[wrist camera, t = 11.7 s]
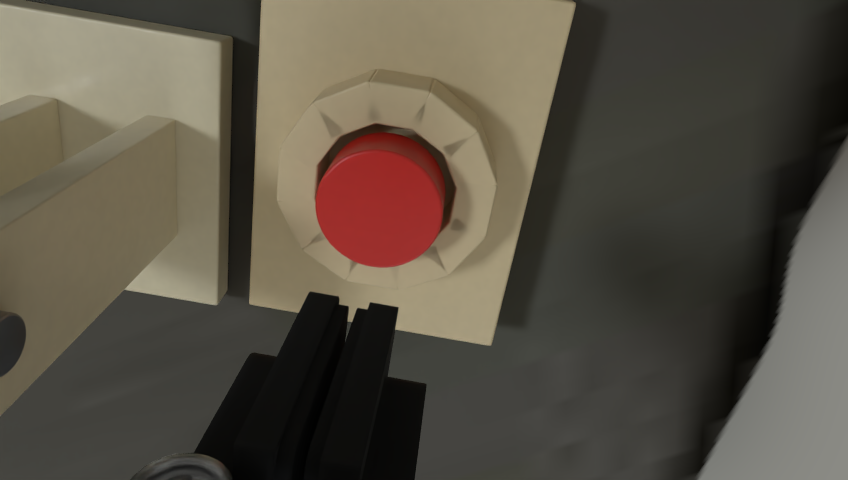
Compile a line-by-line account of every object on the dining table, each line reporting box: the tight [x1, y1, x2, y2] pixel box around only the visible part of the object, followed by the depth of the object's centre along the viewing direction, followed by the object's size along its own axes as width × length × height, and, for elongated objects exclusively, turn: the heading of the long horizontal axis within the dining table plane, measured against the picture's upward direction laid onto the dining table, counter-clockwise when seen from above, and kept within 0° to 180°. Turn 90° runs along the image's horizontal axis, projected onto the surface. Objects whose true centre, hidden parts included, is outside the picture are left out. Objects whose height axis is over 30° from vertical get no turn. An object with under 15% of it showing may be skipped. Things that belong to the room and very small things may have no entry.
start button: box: [315, 132, 445, 268], centre depth 19 cm, size 4×4×2 cm
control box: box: [249, 0, 576, 346], centre depth 21 cm, size 12×9×4 cm
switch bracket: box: [0, 0, 233, 416], centre depth 18 cm, size 10×8×13 cm
